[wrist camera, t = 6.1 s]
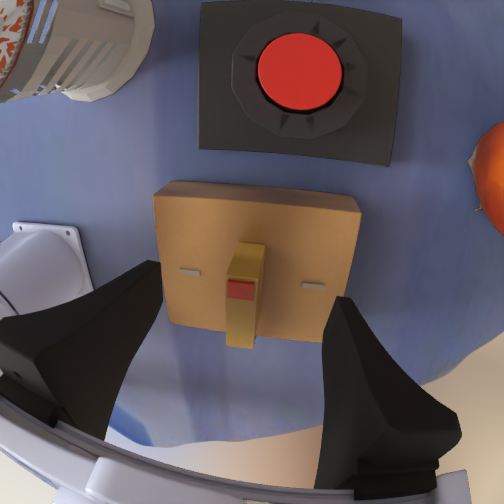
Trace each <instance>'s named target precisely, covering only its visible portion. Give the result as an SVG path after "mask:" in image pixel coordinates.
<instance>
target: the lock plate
mask: <svg viewBox="0 0 504 504" xmlns="http://www.w3.org/2000/svg"><path fill="white" fill-rule="evenodd" d="M152 197H153V208H154V218H155V227H156V236H157V244H158V252H159V259H160V263H161V273H162V280H163V287H164V293H165V299H166V305H167V311H168V317H169V322H170V323H173V324H179V325H185V326H191V327H197V328H203V329H209V330H216V331H223V332H226V305H225V275H226V272H227V270H228V267H229V264H230V262H231V259H232V257H233V254H234V252H235V249H236V246H237V244H238V242H243V243H253V244H262V245H265V246H266V247H265V260H264V274H263V287H262V300H261V312H260V317H259V322H258V327H257V333H256V336H261V337H270V338H279V339H288V340H299V341H310V342H322V339H323V331H324V328H325V325H326V323H327V320H328V318H329V315H330V312H331V309H332V307H333V304H334V301H335V298H336V296H341V297H344V293H345V289H346V285H347V281H348V277H349V273H350V269H351V265H352V260H353V256H354V251H355V247H356V242H357V237H358V232H359V227H360V222H361V217H362V212H361V210H360V208H359V206H358V204H357V202H356V200H355V198H354V196H350V195H343V194H334V193H326V192H317V191H308V190H298V189H288V188H277V187H265V186H253V185H239V184H224V183H206V182H185V181H170V182H169V183H168V184H167V185H165V186H164V187H163V188H161V189H160V190H159V191H158V192H156V193H155V194H154V195H153V196H152Z"/></svg>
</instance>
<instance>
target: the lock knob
mask: <svg viewBox="0 0 504 504" xmlns="http://www.w3.org/2000/svg"><path fill="white" fill-rule="evenodd" d="M265 247H266V246H265V245H262V244H253V243H243V242H238V244H237V246H236V249H235V252H234V254H233V257H232V259H231V262H230V264H229V267H228V270H227V272H226V275H225V305H226V345H227V346H233V347H240V348H247V349H253V348H254V343H255V338H256V333H257V327H258V322H259V317H260V312H261V300H262V287H263V274H264V260H265Z"/></svg>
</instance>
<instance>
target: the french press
mask: <svg viewBox="0 0 504 504" xmlns="http://www.w3.org/2000/svg"><path fill="white" fill-rule="evenodd" d="M52 2H53V0H46V3H45V6H44V8H43V11H42V14H41V17H40V20H39V23H38V26H37V29H36V32H35V35H34V38H33V40H32V43H31V44H26V42H27V39H28V36H29V34H30V31H31V28H32V25H33V22H34V19H35V16H36V13H37V9H38V6H39V3H40V0H0V103H4V102H9V101H14V100H19V99H24V98H30V97H31V96H39V95H43V94H45V93H50V94H52V93H56V92H59V91H61V92H62V93H64V94H65V95H66V96H68V97H69V98H71V99H72V100H78V101H89V102H93V101H95V100H98V99H101V98H103V97H106V96H109V95H111V94H114V93H115V92H116V91H117V90H118V89H119V88H120V87H121V86H123V85H124V84H125V83H126V82H127V81H128V80H129V79H131V78H132V77H133V76H134V74H135V72H136V71H137V69H138V67H139V66H140V64H141V63H142V61H143V59H144V58H145V56H146V55H147V53H148V51H149V46H150V42H151V39H152V35H153V31H154V27H155V22H154V15H153V7H152V2H151V0H58V4H57V6H56V9H55V11H54V14H53V17H52V19H51V22H50V25H49V28H48V31H47V34H46V37H45V39H44V42H43V44H40V43H38V42H39V39H40V36H41V34H42V31H43V28H44V25H45V22H46V19H47V16H48V13H49V10H50V7H51V5H52ZM40 85H44V86H46V88H45V89H43V88H41V87H39V86H40ZM55 85H56V86H57V88H56V87H54V86H55ZM13 89H17V90H19V91H21V92H20V93H19V94H15V93H13V92H11V91H9V90H13ZM50 90H53V92H51V91H50ZM36 91H39V92H40V93H39V94H37V93H35V92H36Z"/></svg>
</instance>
